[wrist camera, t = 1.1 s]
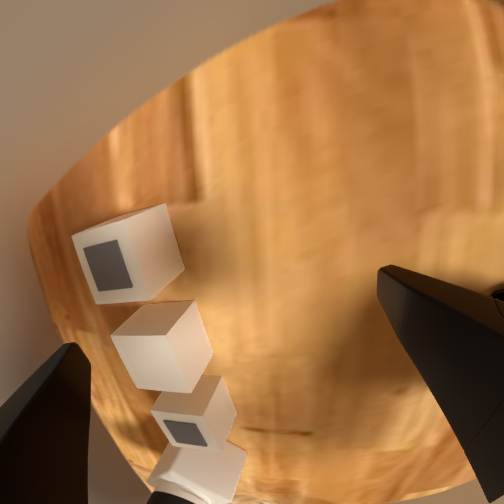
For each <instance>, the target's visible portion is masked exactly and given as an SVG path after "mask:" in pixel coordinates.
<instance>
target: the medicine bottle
mask: <svg viewBox="0 0 504 504" xmlns="http://www.w3.org/2000/svg"><path fill="white" fill-rule="evenodd" d="M246 457H247V452H246V451H245V450H243V449H241V448H239V447H238V446H236V445H234V444H232V443H230V442H228V441H227V442H226V444H225V447H224V449H223V452H222V453H220V452H211V451H203V450H196V449H189V448H183V447H177V446H172V444H171V443H170V441H169V443H168V445H167V446H166V448H165V450H164V452H163V453H162V455H161V457H160V459H159V461H158V462H157V464H156V466H155V468H154V469H153V471H152V473H151V475H150V476H149V478H148V480H147V482H148V483H149V484H150V485H152V486H154V487H155V489H154V491H153V493H152V495H151V497H150V498H149V500H148V502H147V504H227V503H230V502H231V501H232V499H233V496H234V493H235V490H236V487H237V484H238V482H239V479H240V476H241V473H242V469H243V466H244V463H245V460H246Z"/></svg>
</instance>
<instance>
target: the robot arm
mask: <svg viewBox="0 0 504 504" xmlns="http://www.w3.org/2000/svg"><path fill="white" fill-rule="evenodd" d="M377 296H378V299H379V301H380V303H381V305H382V307H383V309H384V311H385V313H386V315H387V317H388V319H389V321H390V323H391V325H392V327H393V329H394V331H395V333H396V335H397V337H398V338H399V340H400V342H401V344H402V345H403V347H404V348H405V350H406V351H407V353H408V355H409V356H410V358H411V359H412V361H413V363H414V364H415V366H416V367H417V369H418V371H419V372H420V374H421V376H422V377H423V379H424V381H425V382H426V384H427V386H428V387H429V389H430V391H431V392H432V394H433V396H434V397H435V399H436V401H437V403H438V404H439V406H440V408H441V410H442V411H443V413H444V415H445V417H446V418H447V420H448V422H449V424H450V426H451V428H452V429H453V431H454V433H455V435H456V437H457V439H458V441H459V442H460V444H461V446H462V448H463V450H464V452H465V454H466V456H467V458H468V460H469V462H470V464H471V466H472V468H473V470H474V472H475V475H476V477H477V479H478V481H479V483H480V485H481V487H482V489H483V492H484V494H485V496H486V498H487V500H488V502H489V503H491V502H493V501H495V500H496V499H498V498H500V497H501V496H503V495H504V289H502V290H498V291H495V292H494V293H493V294H492V296H491V297H489V296H486V295H483V294H480V293H477V292H474V291H472V290H469V289H466V288H463V287H460V286H457V285H454V284H451V283H448V282H445V281H441V280H438V279H435V278H432V277H429V276H426V275H423V274H420V273H417V272H414V271H411V270H407V269H404V268H401V267H398V266H395V265H387V266H384V267H381V268H380V269H379V270H378V274H377ZM496 297H498V298H497V299H496ZM90 414H91V364H90V362H89V360H88V358H87V357H86V355H85V354H84V352H83V351H82V350H81V348H80V347H79V345H78V344H77V343H75V342H71V343H66V344H63V345H62V346H61V347H60V348H59V349H58V350H57V351H56V352H55V353H54V354H53V355H52V356H51V357H50V358H49V359H48V360H47V361H46V362H45V363H43V364H42V365H41V366H40V367H39V368H38V369H37V371H35V372H34V373H33V375H31V376H30V377H29V378H28V379H27V380H26V381H25V382H24V383H23V384H22V385H21V386H20V387H19V388H18V389H17V390H16V391H15V392H14V393H13V395H11V397H10V398H9V399H8V400H7V401H6V402H5V403H4V404H3V405H2V406H1V407H0V504H88V445H89V428H90Z"/></svg>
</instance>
